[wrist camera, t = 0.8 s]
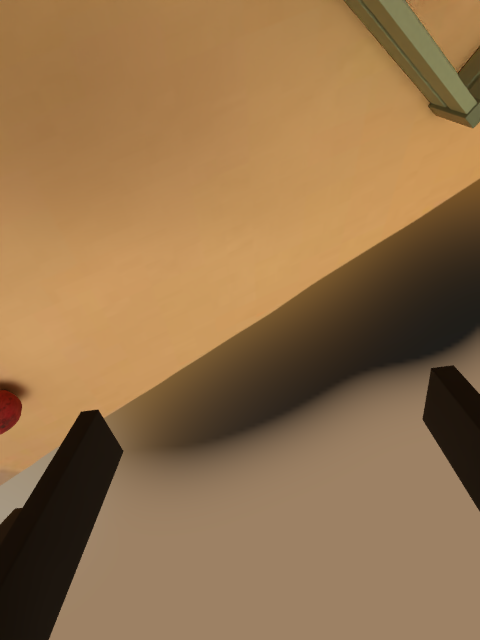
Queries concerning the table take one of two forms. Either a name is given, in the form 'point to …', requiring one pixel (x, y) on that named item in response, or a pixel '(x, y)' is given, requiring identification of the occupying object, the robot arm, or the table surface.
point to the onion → (9, 410)
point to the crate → (424, 59)
